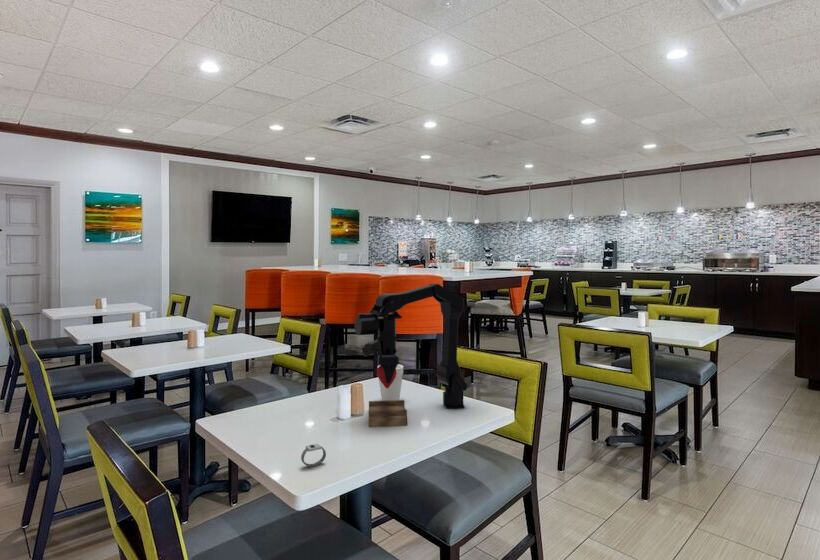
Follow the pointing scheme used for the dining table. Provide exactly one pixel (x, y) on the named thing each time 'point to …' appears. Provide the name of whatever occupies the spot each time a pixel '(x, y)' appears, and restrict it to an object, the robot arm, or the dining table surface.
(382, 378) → the strawberry
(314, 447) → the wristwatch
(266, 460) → the dining table surface
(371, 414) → the stand
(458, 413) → the dining table surface
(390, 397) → the foam cup
